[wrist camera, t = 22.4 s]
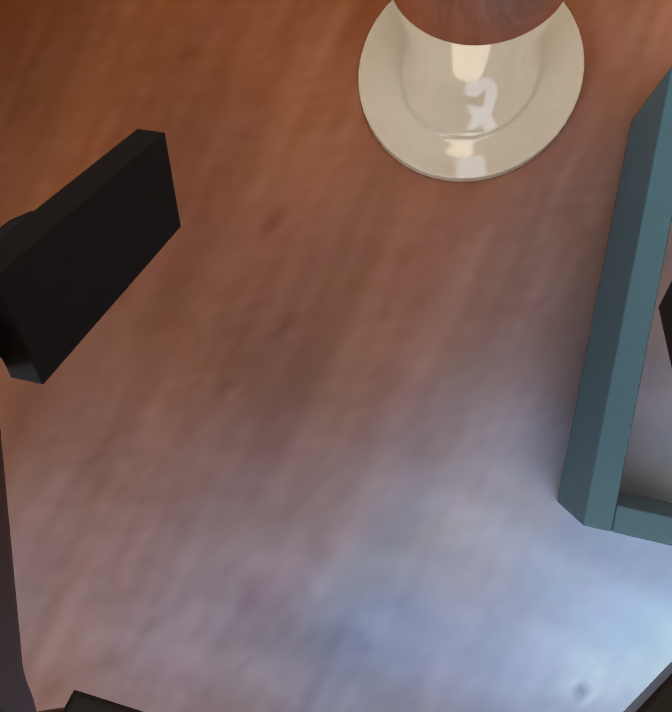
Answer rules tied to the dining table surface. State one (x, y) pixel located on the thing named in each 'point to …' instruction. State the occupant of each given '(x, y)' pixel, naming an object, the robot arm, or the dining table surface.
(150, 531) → the dining table surface
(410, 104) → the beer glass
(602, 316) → the box
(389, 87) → the plate
